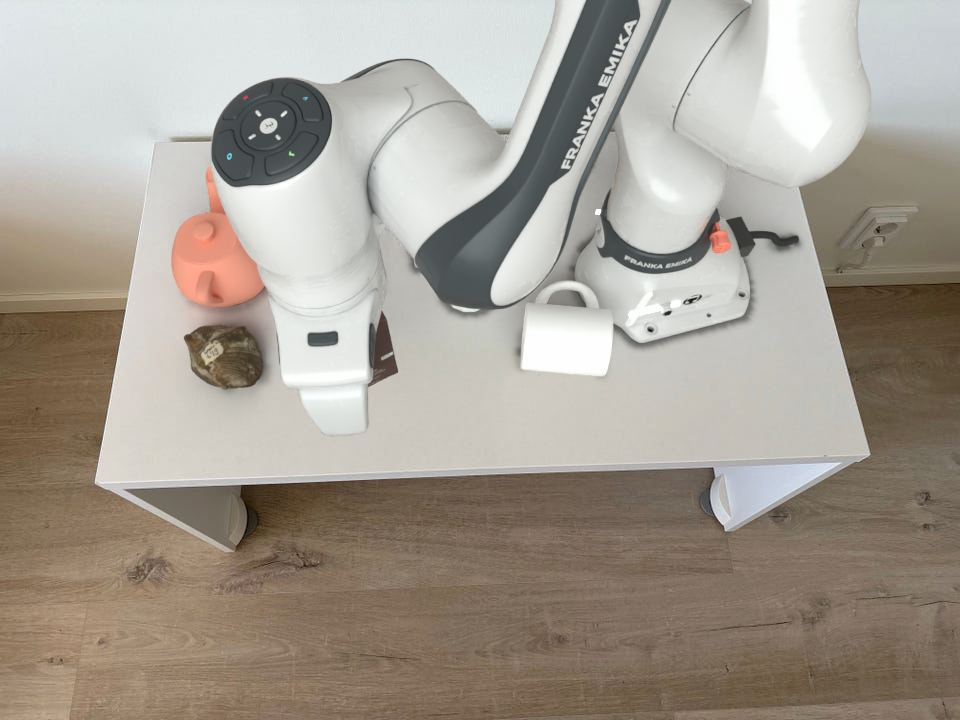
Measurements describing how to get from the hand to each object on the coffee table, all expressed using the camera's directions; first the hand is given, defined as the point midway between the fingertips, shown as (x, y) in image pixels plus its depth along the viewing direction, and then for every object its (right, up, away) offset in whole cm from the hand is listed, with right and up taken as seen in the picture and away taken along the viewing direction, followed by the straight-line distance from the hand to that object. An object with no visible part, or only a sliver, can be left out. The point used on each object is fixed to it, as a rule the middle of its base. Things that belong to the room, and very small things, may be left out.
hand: (356, 352), depth 63 cm
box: (0, -2, +4) cm, 5 cm away
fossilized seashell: (-19, -1, +18) cm, 26 cm away
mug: (+22, +2, +20) cm, 30 cm away
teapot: (-21, +11, +24) cm, 34 cm away
